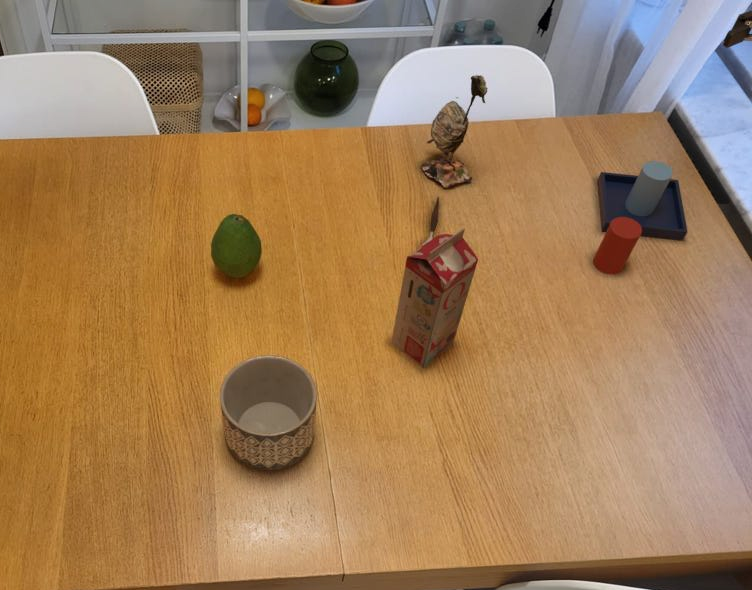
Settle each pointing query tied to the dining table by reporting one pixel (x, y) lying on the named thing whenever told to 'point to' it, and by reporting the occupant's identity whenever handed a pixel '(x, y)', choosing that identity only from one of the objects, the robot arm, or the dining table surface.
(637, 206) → the blue pin
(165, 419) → the dining table surface
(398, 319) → the juice carton
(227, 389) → the planter
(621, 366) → the dining table surface
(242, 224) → the fruit
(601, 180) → the blue tray
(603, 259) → the red cylinder
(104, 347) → the dining table surface
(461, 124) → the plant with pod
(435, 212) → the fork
